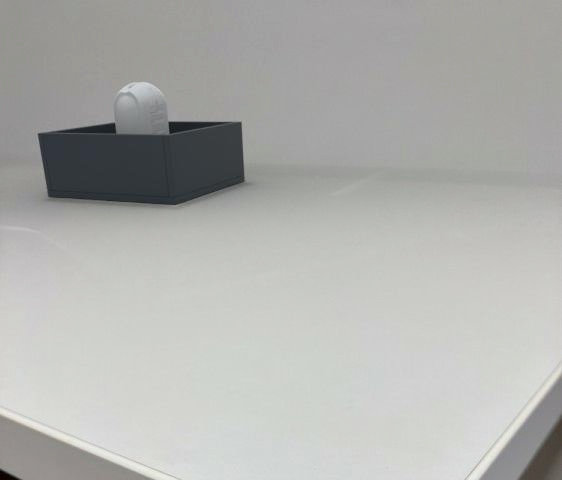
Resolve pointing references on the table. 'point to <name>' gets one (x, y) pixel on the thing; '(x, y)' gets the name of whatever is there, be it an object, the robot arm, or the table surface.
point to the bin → (143, 162)
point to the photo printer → (140, 110)
